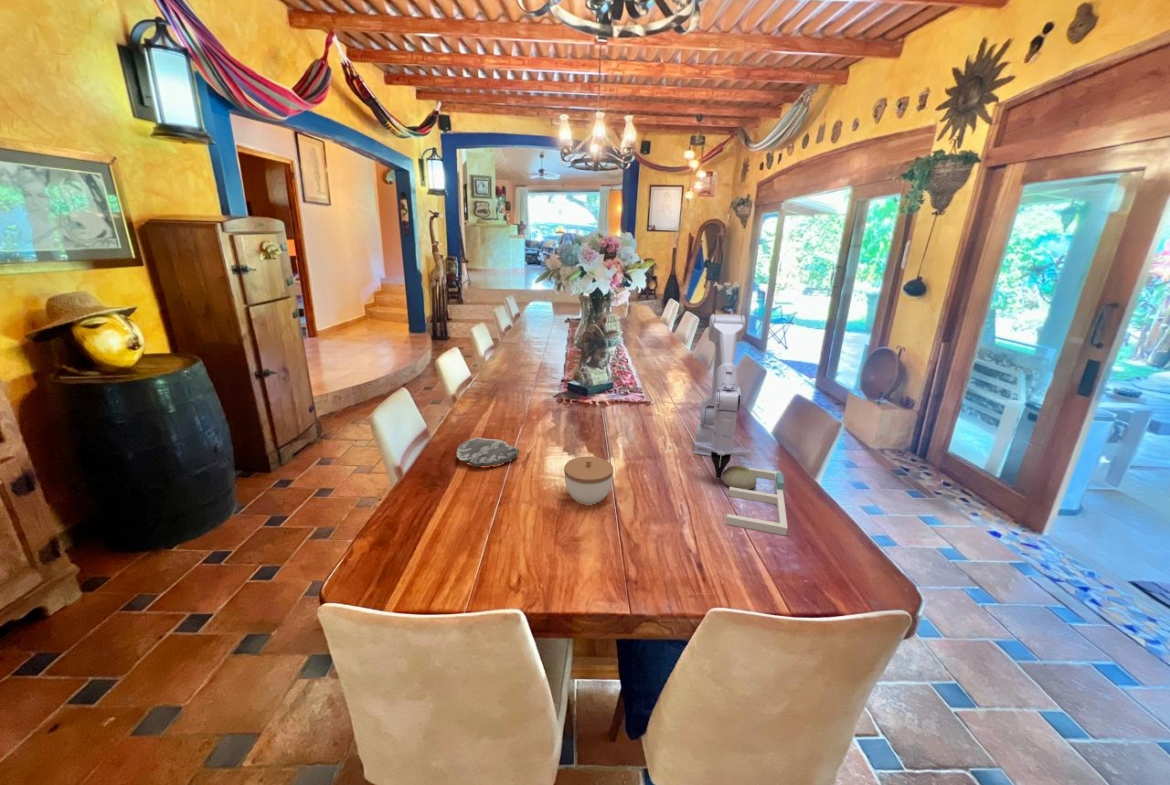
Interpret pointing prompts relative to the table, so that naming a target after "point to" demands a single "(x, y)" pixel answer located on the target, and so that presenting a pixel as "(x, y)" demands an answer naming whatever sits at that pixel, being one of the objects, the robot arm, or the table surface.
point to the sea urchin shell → (739, 477)
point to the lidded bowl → (588, 479)
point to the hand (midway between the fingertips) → (718, 476)
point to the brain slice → (486, 452)
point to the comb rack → (762, 497)
